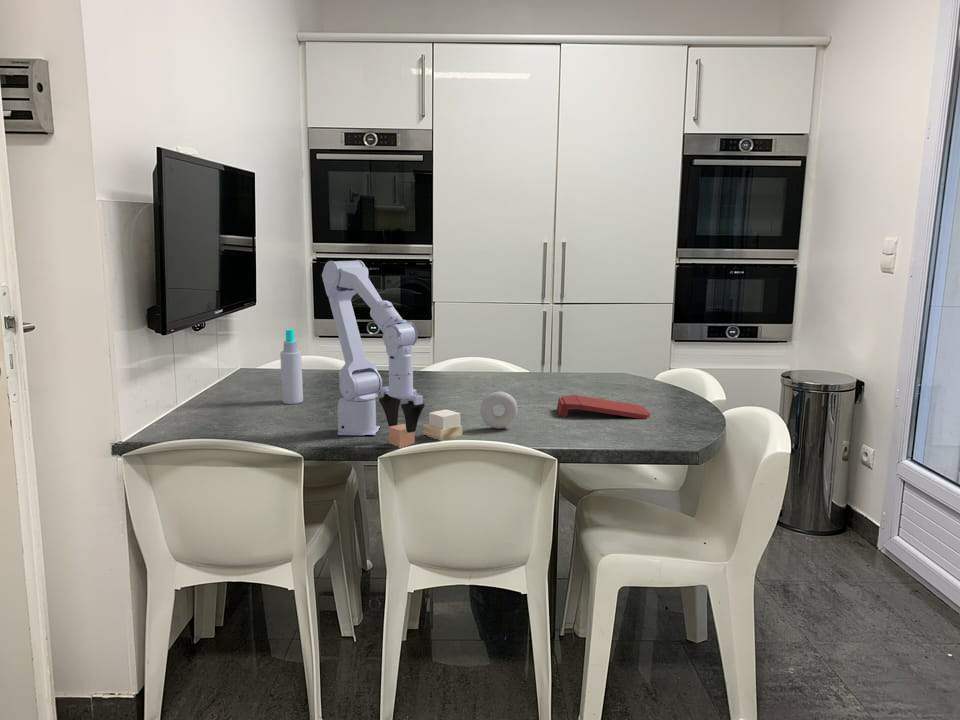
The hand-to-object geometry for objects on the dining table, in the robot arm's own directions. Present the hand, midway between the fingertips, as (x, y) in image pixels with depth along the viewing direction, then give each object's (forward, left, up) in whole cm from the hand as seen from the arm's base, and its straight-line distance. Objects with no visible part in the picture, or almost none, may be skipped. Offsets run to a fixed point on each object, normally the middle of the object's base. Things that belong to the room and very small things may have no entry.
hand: (401, 428), depth 177 cm
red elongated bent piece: (+52, +35, -5) cm, 63 cm away
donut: (+23, +16, -4) cm, 28 cm away
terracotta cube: (0, 0, -4) cm, 4 cm away
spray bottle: (-40, +41, -4) cm, 58 cm away
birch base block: (+9, +8, -4) cm, 13 cm away
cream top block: (+10, +8, -1) cm, 13 cm away
